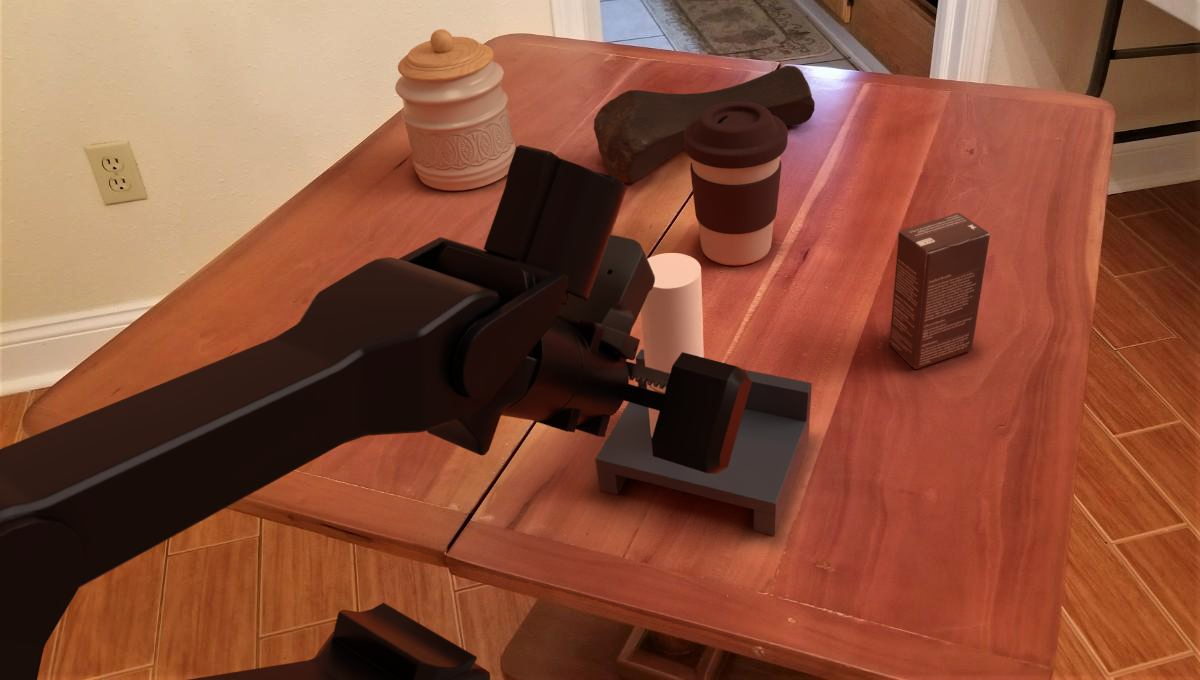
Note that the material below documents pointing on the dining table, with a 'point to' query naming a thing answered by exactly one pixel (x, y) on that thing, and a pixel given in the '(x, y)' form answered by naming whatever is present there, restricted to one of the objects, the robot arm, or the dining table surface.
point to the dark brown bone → (686, 118)
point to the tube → (672, 315)
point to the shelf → (757, 460)
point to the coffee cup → (735, 179)
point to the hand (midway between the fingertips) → (640, 395)
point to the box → (937, 289)
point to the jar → (455, 113)
